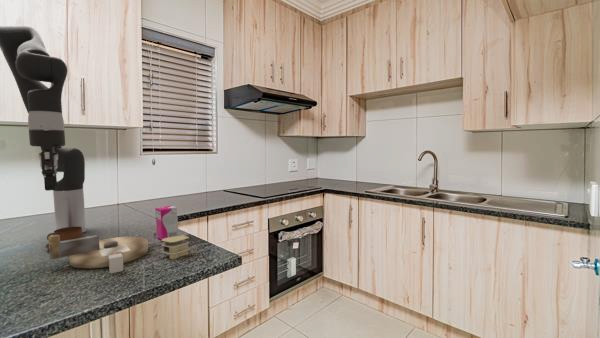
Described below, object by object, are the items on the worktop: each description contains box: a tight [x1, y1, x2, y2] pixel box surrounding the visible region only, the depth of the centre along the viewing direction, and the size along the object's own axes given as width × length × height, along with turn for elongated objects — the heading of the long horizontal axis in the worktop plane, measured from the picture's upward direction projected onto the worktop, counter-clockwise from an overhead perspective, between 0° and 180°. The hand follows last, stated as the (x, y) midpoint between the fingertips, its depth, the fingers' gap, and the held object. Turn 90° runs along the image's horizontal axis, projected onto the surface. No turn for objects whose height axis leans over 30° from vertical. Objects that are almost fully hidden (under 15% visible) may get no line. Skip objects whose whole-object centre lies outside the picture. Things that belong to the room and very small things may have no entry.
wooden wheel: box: [47, 234, 149, 269], centre depth 88 cm, size 24×20×9 cm
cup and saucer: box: [45, 227, 86, 250], centre depth 99 cm, size 12×12×6 cm
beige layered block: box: [160, 234, 191, 260], centre depth 90 cm, size 10×9×6 cm
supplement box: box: [155, 205, 180, 243], centre depth 107 cm, size 6×6×12 cm
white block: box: [108, 253, 124, 274], centre depth 80 cm, size 5×3×4 cm, turn 37°
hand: (51, 188), depth 82 cm, fingers open, 6 cm apart
